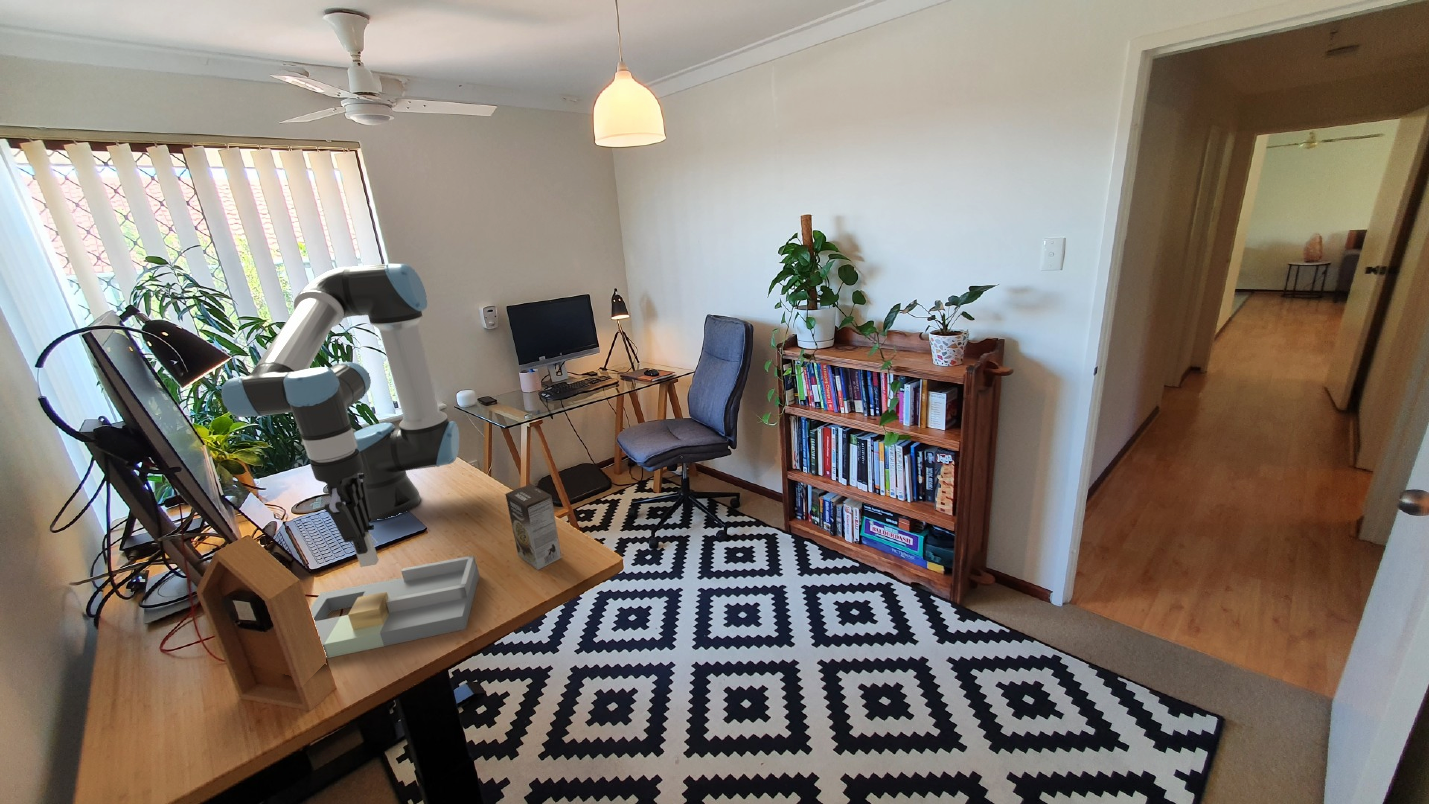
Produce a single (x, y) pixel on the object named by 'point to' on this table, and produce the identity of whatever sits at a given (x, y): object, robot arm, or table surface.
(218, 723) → the table surface
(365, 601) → the ochre block
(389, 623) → the tray
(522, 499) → the coffee box
